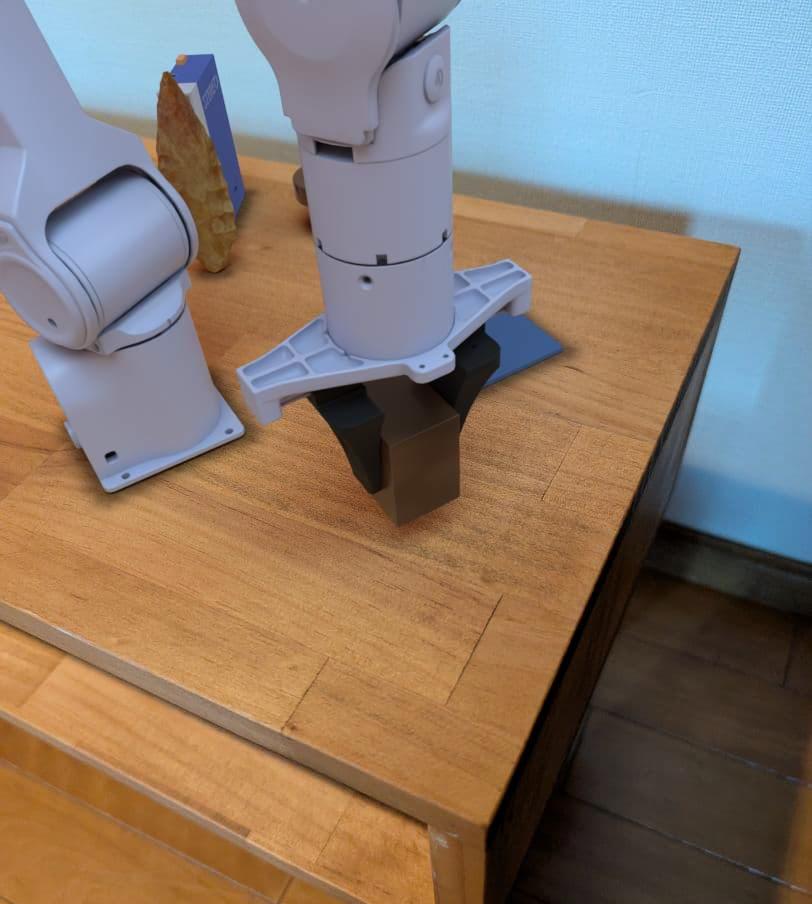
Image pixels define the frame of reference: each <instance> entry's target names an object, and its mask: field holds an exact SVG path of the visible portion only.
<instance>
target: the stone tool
mask: <svg viewBox="0 0 812 904" xmlns="http://www.w3.org/2000/svg"><path fill="white" fill-rule="evenodd" d="M161 74H162V75H161V79H160V82H159V89H160V91H159V90H158V91H159V96H158V97H157V103H156V122H157V123H156V127H157V129H156V139H155V140H156V142H155V144H156V145H155V152H156V156H157V169H158V170H159V171H160V173H161V174H162V175H163V177H164V178H165V179H166V180H167V181H168V182H169V183H170V184H171V185H172V186H173V187H174V188H175V189H176V191H177V192H178V193H179V194H180V196H181V197H182V199H183V200H184V202H185V203H186V205H187V207H188V209H189V211H190V213H191V215H192V218H193V220H194V223H195V226H196V230H197V234H198V241H199V246H198V253H197V256H196V258H195V259H197V260H198V261H199V262H200V263H201V265H202V266H203V267H204V268H205V269H206V270H208V271H210V272H212V273H214V274H215V273H218V272H219V271H221V270H222V269H224V268H226V267H227V266H229V263H231V258H232V247H233V244H234V242H235V241H237V227H236V224H235V221H236V219H235V220H234V215H235V214H234V209H233V204H232V202H231V200H230V198H229V192H228V185H227V183H226V181H225V179H224V177H223V172H222V167H221V164H220V161H219V160H218V157H217V154H216V149H215V147H214V143H213V141H212V140H211V138H210V137H209V136H208V135H207V133H206V130H205V128H204V126H203V124H202V123H201V121H200V120H199V118H198V116H197V115H196V114H195V112H194V109H193V107H192V106H191V103H190V101H189V100H188V99H187V97H186V95H185V94H184V93H183V91H182V89H181V88H180V87H179V86H178V83H177V82H176V81H175V80H174V78H173V77H172V75H171V74H170V71H168V70H166V71H163V72H162V73H161Z"/></svg>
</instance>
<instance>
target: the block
mask: <svg viewBox="0 0 812 904" xmlns="http://www.w3.org/2000/svg"><path fill="white" fill-rule="evenodd" d="M361 383H362V384H363V385H365V386H366V389H367V395H368V396H369V398H370V399H371V400H372V401H373V402H374V403H375V404H376V405H377V406H378V407H379V408H380V410H381V411H382V412H383V413H384V414H385V415H386V416H385V418H384V422H383V425H382V430H381V436H380V461H381V468H382V489H381V491H379V492H377V493H375V494H373V495H371V496H372V498H373V499H374V500H375V502H376V503H377V504H378V505H379V506H380V507H381V509H382V510H383V511H384V513H385V514H386V516H388V518H389V519H390V520H391V522H392V523H393V524H394V525H395V527H397V528H401V527H403V526H405V525H408V524H409V523H412V522H413V521H416V520H417V519H419V518H421V517H423V516H424V515H427V514H429V513H431V512H433V511H435V510H437V509H438V508H441V507H443V506H445V505H447V504H449V503H451V502H453V501H455V500H457V499H459V498H460V497H461V465H460V464H461V460H460V459H461V454H460V451H461V448H460V440H461V439H460V437H461V434H460V429H459V414H458V413H457V412H456V411H455V410H454V409H453V408H452V407H451V406H450V405H449V404H448V403H447V402H446V401H445V400H444V399H443V398H442V397H441V396H440V395H439V394H438V393H437V392H436V391H435V390H434V389H433V388H432V387H431V386H430V385H429V384H428V383H423V384H422V383H416V382H415V381H413V380H412V379H411V378H410V377H409V376H407V375H401V376H395V377H389V378H384V379H378V380H372V381H367V382H361Z"/></svg>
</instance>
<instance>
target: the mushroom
mask: <svg viewBox="0 0 812 904" xmlns="http://www.w3.org/2000/svg"><path fill="white" fill-rule="evenodd" d="M291 179H292V185H293V186H292V187H293V192H294V197H295V200H296V202H298V204H300V205H301V206H304V207H306V208H308V202H307V195H306V189H305V183H304V177H303V171H302V166H300V167H299V168H298V169H296V170H295V171H294V173H293V174H292V178H291Z"/></svg>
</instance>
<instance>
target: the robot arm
mask: <svg viewBox="0 0 812 904" xmlns="http://www.w3.org/2000/svg"><path fill="white" fill-rule="evenodd" d="M461 1H462V0H234V3H235V7H236V9H237V11H238V14H239V16H240V18H241V20H242V23H243V25H244V27H245V29H246V31H247V33H248V34H249V36H250V37H251V39H252V41H253V42H254V44H255V46H256V47H257V48H258V50H259V51H260V52H261V54H262V55H263V57H264V58H265V59H266V61H267V62H268V64H269V66H270V68H271V70H272V72H273V74H274V77H275V79H276V82H277V86H278V90H279V96H280V101H281V107H282V114H283V116H284V117H288V118H289V119H290V122H291V123H290V124H291V127H292V129H293V131H295V134H296V139H297V146H298V152H299V158H300V164H301V167H302V171H303V177H304V183H305V189H306V195H307V202H308V207H307V208H308V213H309V219H310V220H309V221H310V226H311V231H312V238H313V244H314V245H313V246H314V251H315V256H316V263H317V269H318V276H319V283H320V288H321V294H322V295H321V296H322V301H323V307H324V311H322V312H321V313H319V315H317V316H316V317H314V318H313V319H312V320H310V321H309V322H307V323H306V324H305V325H303V326H302V327H301V328H299V329H298V330H296V331H295V332H294V333H293V334H291V335H290V336H288V337H287V338H286V339H284V340H283V341H282V342H280V343H278V344H277V345H276V346H275V347H273V348H272V349H271V350H269V351H267V352H266V353H265V354H263V355H261V356H260V357H258V358H255V359H254V360H252V361H250V362H248V363H246V364H243V365H241V366H239V367H237V368H236V369H235V373H236V377H237V380H238V384H239V388H240V392H241V394H242V398H243V401H244V402H243V403H245V405H246V406H247V408H248V409H249V411H250V412H251V414H252V415H253V416H254V417H255V419H256V420H257V421H258V423H259V424H260V425H261V426H262V427H265V426H267V425H270V424H273V423H274V422H277V421H279V420H281V419H282V418H283V416H284V413H283V408H284V407H287V406H289V405H291V404H293V403H296V402H298V401H300V400H302V399H305V398H306V399H307V400H308V402H309V403H310V404H311V406H312V407H314V409H315V410H316V412H317V413H318V414H319V415H320V416H321V417H322V419H324V421H325V422H326V423H327V425H328V427H329V428H330V429H331V431H332V433H333V434H334V436H335V437H336V439H337V441H338V443H339V444H340V447H341V449H342V450H343V452H344V454H345V456H346V459H347V461H348V464H349V466H350V469H351V471H352V474H353V476H354V477H355V479H356V480H357V481H358V482H359V483H360V484H361V486H362V487H363V488H364V489H365V491H366V492H367V493H368V494H369V495H370V496H372V495H373V494H375V493H377V492H379V491H381V489H382V468H381V461H380V436H381V430H382V425H383V422H384V418H385V416H386V415H385V414H384V413H383V412H382V411H381V410H380V408H379V407H378V406H377V405H376V404H375V403H374V402H373V401H372V400H371V399H370V398H369V396H368V395H367V389H366V386H365V385H363V384H362V383H361V382H367V381H372V380H378V379H384V378H389V377H395V376H401V375H407V376H409V377H410V378H411V379H412V380H413V381H415V382H416V383H422V384H423V383H428V384H429V385H430V386H431V387H432V388H433V389H434V390H435V391H436V392H437V393H438V394H439V395H440V396H441V397H442V398H443V399H444V400H445V401H446V402H447V403H448V404H449V405H450V406H451V407H452V408H453V409H454V410H455V411H456V412H457V413H458V414H459V429H460V435H461V434H462V431H463V429H464V426H465V422H466V421H467V419H468V416H469V413H470V411H471V410H472V406H473V405H474V402H475V401H476V399H477V397H478V396H479V394H480V392H481V391H482V390H483V389H484V388H483V386H484V385H485V384H486V382H487V381H488V380H489V378H490V377H491V376H492V375H493V374H494V372H495V371H496V370H497V369H498V368H499V367H500V354H501V348H500V345H499V344H498V343H497V342H496V341H495V340H494V339H493V338H491V337H490V336H489V335H488V334H487V333H486V332H485V322H486V321H487V320H488V319H489V318H491V317H493V316H496V315H498V314H500V313H503V312H505V311H506V312H507V313H508V314H509V315H510V316H514V317H515V316H518V315H521V314H523V315H524V314H526V313H527V312H530V311H531V307H532V306H531V305H532V291H533V277H534V276H533V275H532V274H531V273H529V272H527V271H526V269H524V268H522V267H521V266H520V265H518V264H517V263H516V262H514V261H513V260H511V259H510V258H505V259H502V260H499V261H497V262H494V263H490V264H487V265H483V266H482V265H481V266H477V267H473V268H466V269H460V270H454V197H453V196H454V192H453V191H454V190H453V189H454V188H453V186H454V185H453V123H452V121H453V120H452V119H453V118H452V117H453V115H452V114H453V111H452V106H453V105H452V67H451V66H452V64H451V63H452V62H451V57H452V56H451V26H450V25H448V24H444V25H443V26H441V27H440V28H439V29H437V30H436V31H434V32H430V31H431V30H433V29H434V28H436V27H437V26H438V25H440V24H441V23H442V22H444V20H445V19H447V17H448V16H450V14H451V13H452V12H453V10H455V9H456V8H457V7H458V5H459V4H460V3H461ZM427 33H428V34H427ZM198 246H199V241H198V234H197V230H196V226H195V223H194V220H193V218H192V215H191V213H190V211H189V209H188V207H187V205H186V203H185V202H184V200H183V199H182V197H181V196H180V194H179V193H178V192H177V191H176V189H175V188H174V187H173V186H172V185H171V184H170V183H169V182H168V181H167V180H166V179H165V178H164V177H163V175H162V174H161V173H160V171H159V170H158V166H157V165H155V163H154V161H153V160H152V158H151V156H150V153H149V152H148V150H147V148H146V146H145V144H144V142H143V140H142V138H141V137H140V136H138V135H137V134H135V133H133V132H131V131H129V130H126V129H123V128H120V127H118V126H115V125H112V124H109V123H108V122H105V121H102V120H99V119H97V118H94V117H92V116H90V115H88V114H87V113H86V112H85V111H84V109H83V107H82V105H81V103H80V101H79V99H78V97H77V95H76V94H75V92H74V90H73V89H72V87H71V85H70V83H69V81H68V79H67V77H66V76H65V73H64V72H63V70H62V68H61V66H60V65H59V62H58V60H57V58H56V57H55V55H54V53H53V51H52V49H51V47H50V45H49V43H48V41H47V39H46V38H45V36H44V34H43V32H42V31H41V29H40V27H39V25H38V23H37V21H36V20H35V18H34V16H33V14H32V12H31V10H30V8H29V6H28V5H27V3H26V1H25V0H0V292H1V294H2V295H3V297H4V298H5V300H6V302H7V303H8V305H9V306H10V307H11V309H12V310H13V311H14V312H15V314H16V315H17V316H18V317H19V318H20V319H21V320H22V321H23V322H24V323H25V324H26V326H28V327H29V328H30V329H31V330H32V331H34V332H35V333H36V334H38V336H35V337H33V338H32V339H31V340H29V341H28V342H27V344H28V346H29V348H30V350H31V352H32V354H33V356H34V358H35V360H36V362H37V364H38V366H39V368H40V370H41V372H42V374H43V375H44V377H45V378H44V379H46V382H47V383H48V385H49V387H50V390H51V391H52V393H53V395H54V397H55V399H56V401H57V403H58V405H59V406H60V408H61V410H62V412H63V415H65V418H66V421H64V422H63V425H64V427H65V429H66V431H67V433H68V435H69V437H70V439H71V441H72V443H73V445H74V447H75V449H76V450H79V449H82V450H83V452H84V454H85V455H86V458H87V459H88V461H89V463H90V464H91V467H92V469H93V471H94V473H95V474H96V476H97V478H98V480H99V482H100V484H101V486H102V488H103V490H104V491H105V492H107V493H113V492H114V493H115V492H117V491H120V490H121V489H124V488H125V487H129V486H131V485H133V484H135V483H137V482H140V481H142V480H145V479H146V478H149V477H152V476H153V475H156V474H158V473H160V472H163V471H165V470H167V469H169V468H172V467H174V466H176V465H179V464H181V463H183V462H185V461H188V460H190V459H192V458H195V457H197V456H199V455H202V454H204V453H206V452H208V451H211V450H213V449H215V448H218V447H220V446H223V445H225V444H227V443H229V442H231V441H233V440H236V439H238V438H241V437H242V436H244V434H245V433H246V430H245V426H244V425H243V423H242V422H241V421H240V419H239V418H238V416H237V415H236V414H235V412H234V411H233V410H232V408H231V407H230V405H229V404H228V402H227V401H226V400H225V398H224V397H223V396H222V394H221V392H219V390H218V389H217V387H216V386H215V384H214V382H213V378H212V376H211V373H210V369H209V366H208V363H207V361H206V357H205V354H204V351H203V349H202V348H203V347H202V345H201V342H200V338H199V335H198V331H197V329H196V326H195V323H194V319H193V317H192V313H191V311H190V308H189V305H188V301H187V298H186V294H187V293H188V291H189V290H190V289H191V288H192V286H193V285H192V282H191V278H190V276H189V272H188V269H187V268H189V267H190V266H191V265H192V264H193V263H194V262H195V260H196V259H197V258H196V256H197V253H198Z"/></svg>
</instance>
